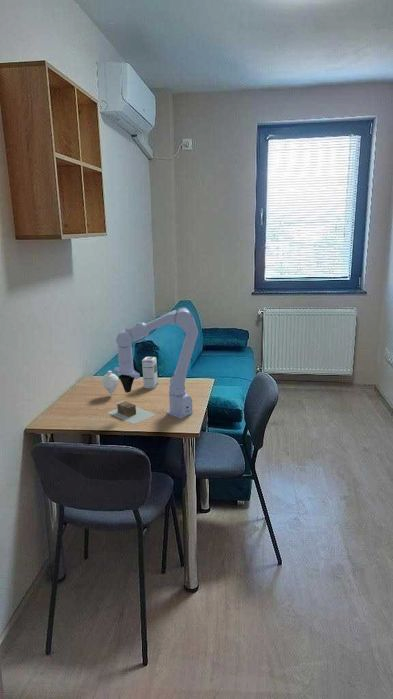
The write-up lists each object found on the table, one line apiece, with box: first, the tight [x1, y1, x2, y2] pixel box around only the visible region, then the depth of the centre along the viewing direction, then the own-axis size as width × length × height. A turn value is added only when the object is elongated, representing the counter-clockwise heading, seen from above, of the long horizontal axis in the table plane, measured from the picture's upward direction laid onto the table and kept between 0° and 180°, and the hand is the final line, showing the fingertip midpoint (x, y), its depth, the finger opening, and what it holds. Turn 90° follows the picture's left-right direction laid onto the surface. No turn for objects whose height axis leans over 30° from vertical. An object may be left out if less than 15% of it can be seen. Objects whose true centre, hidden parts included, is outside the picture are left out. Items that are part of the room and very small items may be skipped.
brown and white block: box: [115, 400, 137, 417], centre depth 191 cm, size 4×4×8 cm
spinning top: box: [101, 370, 120, 396], centre depth 212 cm, size 8×8×12 cm
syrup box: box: [141, 356, 159, 389], centre depth 222 cm, size 6×6×14 cm
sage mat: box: [106, 406, 157, 425], centre depth 191 cm, size 18×12×1 cm, turn 46°
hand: (128, 391), depth 188 cm, fingers closed
